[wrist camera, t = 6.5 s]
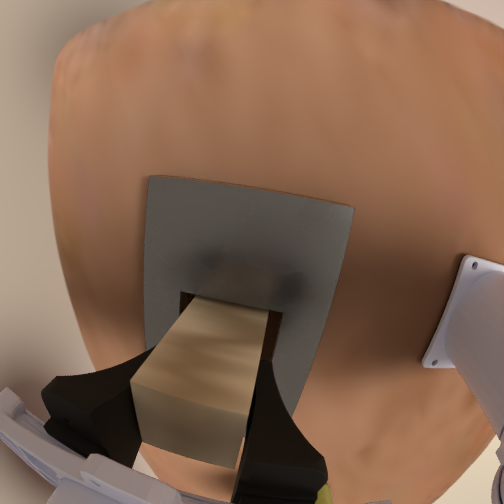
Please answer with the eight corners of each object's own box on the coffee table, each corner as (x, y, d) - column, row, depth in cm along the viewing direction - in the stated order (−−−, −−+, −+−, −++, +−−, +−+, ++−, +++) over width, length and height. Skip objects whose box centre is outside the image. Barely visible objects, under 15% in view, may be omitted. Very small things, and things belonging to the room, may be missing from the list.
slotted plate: (348, 204, 13) (354, 208, 12) (281, 428, 18) (280, 442, 17) (162, 175, 14) (149, 175, 13) (159, 399, 19) (152, 411, 17)
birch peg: (269, 304, 15) (248, 415, 7) (258, 360, 16) (234, 468, 8) (200, 290, 15) (129, 380, 8) (196, 346, 16) (142, 441, 9)
